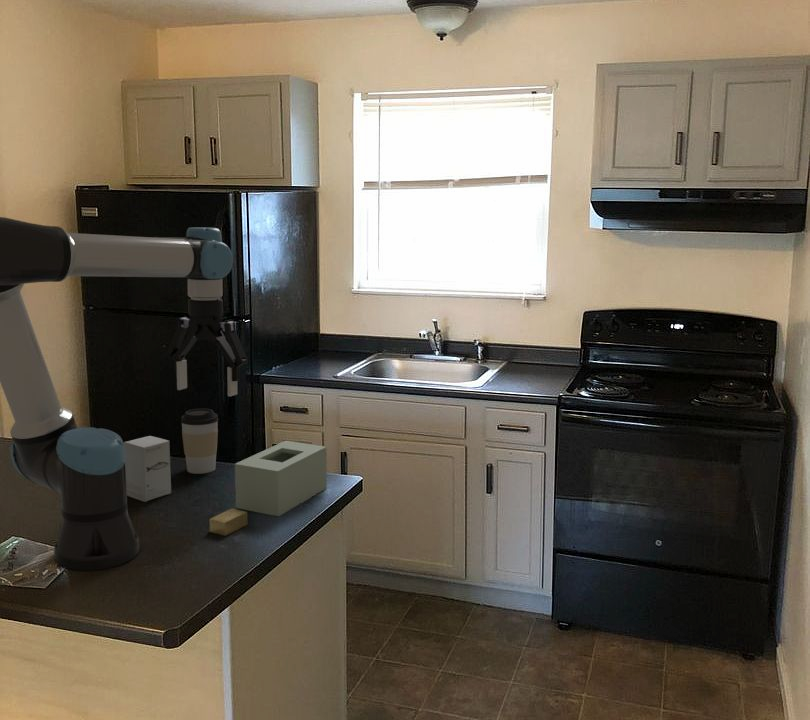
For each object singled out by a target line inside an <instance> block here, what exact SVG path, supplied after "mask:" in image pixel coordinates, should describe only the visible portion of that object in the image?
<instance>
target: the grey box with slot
mask: <svg viewBox="0 0 810 720" xmlns="http://www.w3.org/2000/svg"><path fill="white" fill-rule="evenodd" d="M327 468H328V467H327V446H323V445H316V444H311V443H304V442H297V441H291V440H284V441H282V442H279V443H277V444H276V445H275V444H274V445H273V446H271V447H268V448H266V449H264V450H263V451H260V452H258V453H256V454H253V455H251V456H249V457H247V458H244V459H242V460H241V461H238V462H236V463H234V482H235V484H234V485H235V509H238V510H243V511H249V512H255V513H259V514H266V515H269V516H275V517H281V516H282V515H284V514H285V513H287V512H289V511H291V510H292V509H294V508H295V507H297V506H299V505H301V504H302V503H305V502H306V501H307V500H309V499H311V498H312V496H313V497H315V496H316V495H318V494H319V493H321V492H322V491H324V490H327V487H328V486H327V485H328V484H327V483H328V482H327V481H328V480H327V476H328V474H327ZM317 493H318V494H317ZM300 503H301V504H300Z"/></svg>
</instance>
